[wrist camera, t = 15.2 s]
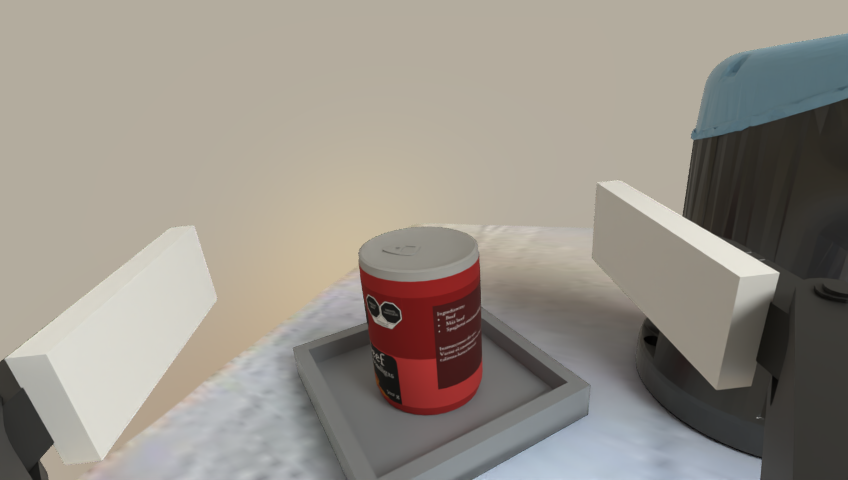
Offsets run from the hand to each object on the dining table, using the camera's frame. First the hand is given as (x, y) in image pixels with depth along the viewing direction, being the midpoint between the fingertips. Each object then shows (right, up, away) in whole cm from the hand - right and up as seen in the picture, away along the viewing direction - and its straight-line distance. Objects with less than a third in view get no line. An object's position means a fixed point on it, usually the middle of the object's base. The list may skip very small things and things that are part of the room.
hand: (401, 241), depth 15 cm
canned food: (+1, -11, +19) cm, 22 cm away
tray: (+1, -11, +19) cm, 22 cm away
